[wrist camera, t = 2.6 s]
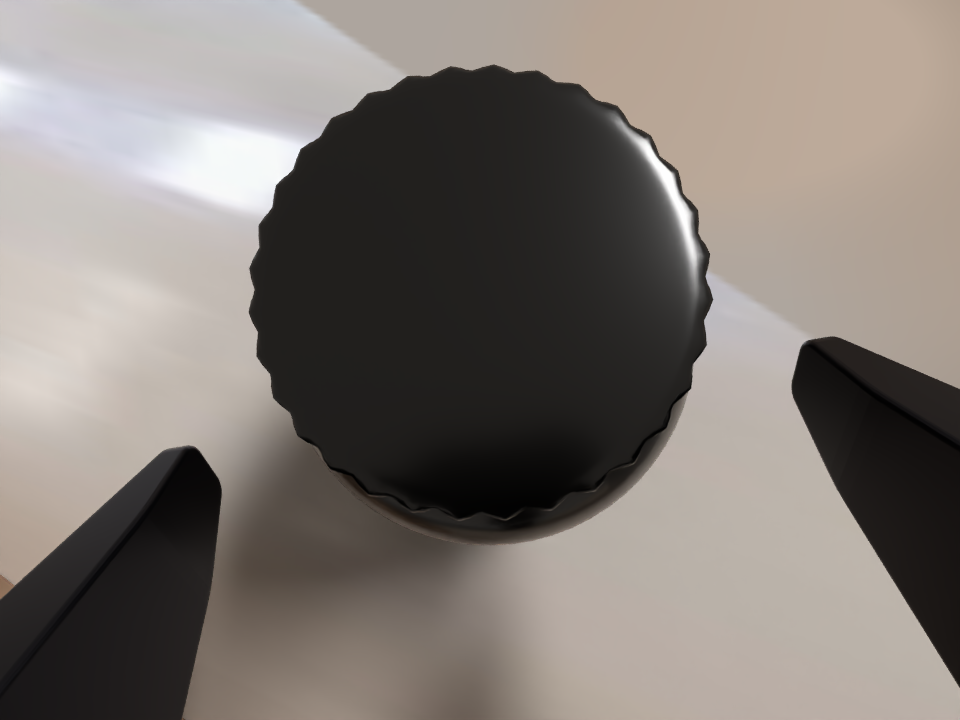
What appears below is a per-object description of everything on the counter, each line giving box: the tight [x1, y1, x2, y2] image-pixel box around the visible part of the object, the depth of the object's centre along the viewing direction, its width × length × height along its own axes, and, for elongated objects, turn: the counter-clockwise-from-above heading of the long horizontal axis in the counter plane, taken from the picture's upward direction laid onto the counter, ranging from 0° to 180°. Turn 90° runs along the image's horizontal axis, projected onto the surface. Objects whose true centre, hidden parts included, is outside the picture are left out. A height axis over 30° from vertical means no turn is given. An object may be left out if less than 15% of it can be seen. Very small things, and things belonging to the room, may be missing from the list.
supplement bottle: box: [249, 65, 713, 545], centre depth 12 cm, size 7×7×12 cm
